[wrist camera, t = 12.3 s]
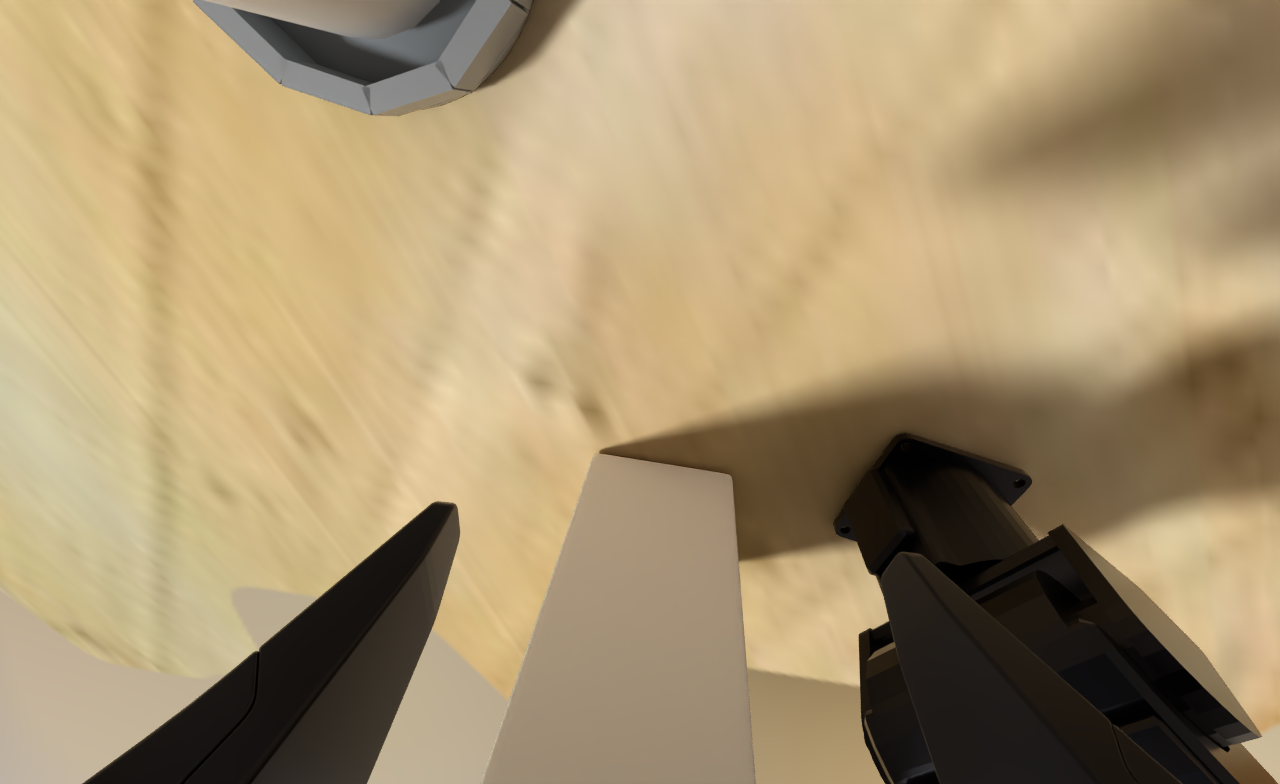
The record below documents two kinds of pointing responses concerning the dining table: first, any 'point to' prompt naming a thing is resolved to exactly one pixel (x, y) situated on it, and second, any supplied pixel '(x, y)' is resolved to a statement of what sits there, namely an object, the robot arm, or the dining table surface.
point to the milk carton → (636, 640)
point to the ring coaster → (383, 54)
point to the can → (343, 14)
